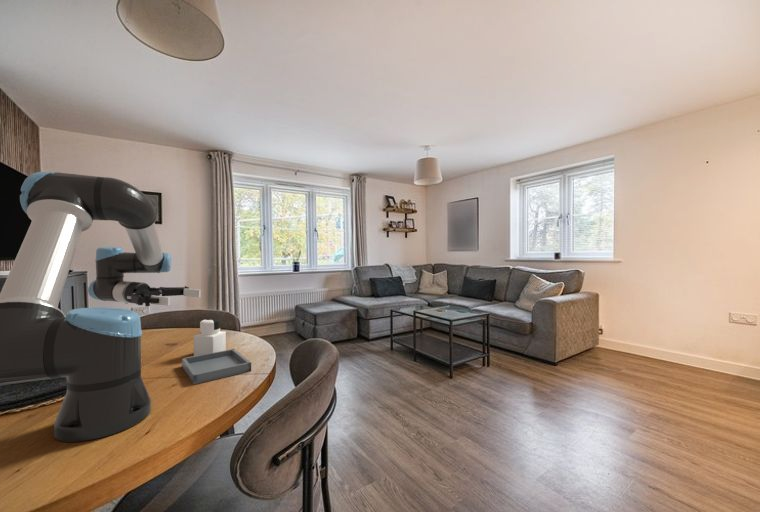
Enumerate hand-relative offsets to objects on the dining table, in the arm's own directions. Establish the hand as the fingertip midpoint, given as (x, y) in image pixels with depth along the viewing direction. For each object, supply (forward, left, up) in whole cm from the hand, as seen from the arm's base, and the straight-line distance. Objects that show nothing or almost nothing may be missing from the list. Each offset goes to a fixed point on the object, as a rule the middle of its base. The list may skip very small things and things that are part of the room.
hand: (185, 297), depth 108 cm
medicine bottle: (-6, -6, -20) cm, 22 cm away
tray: (-22, -4, -19) cm, 30 cm away
